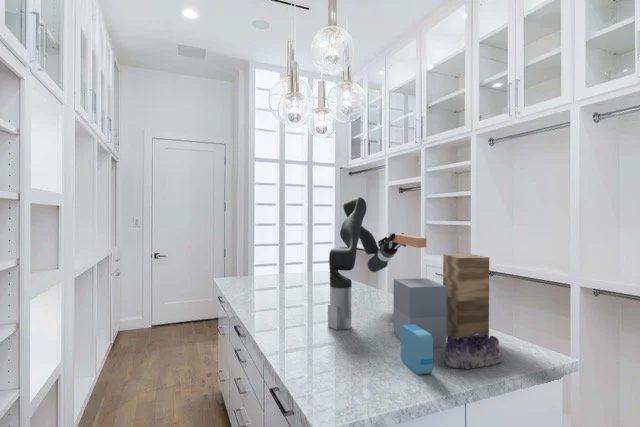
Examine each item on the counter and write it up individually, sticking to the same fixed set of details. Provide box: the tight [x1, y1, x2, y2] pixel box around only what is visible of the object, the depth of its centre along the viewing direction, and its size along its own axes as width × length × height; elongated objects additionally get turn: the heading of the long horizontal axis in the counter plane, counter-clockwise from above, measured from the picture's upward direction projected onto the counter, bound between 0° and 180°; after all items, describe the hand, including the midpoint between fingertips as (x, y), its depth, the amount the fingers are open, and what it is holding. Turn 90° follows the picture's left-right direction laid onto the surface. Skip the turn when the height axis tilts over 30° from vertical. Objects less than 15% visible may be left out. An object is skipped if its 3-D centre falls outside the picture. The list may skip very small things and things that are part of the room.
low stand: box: [392, 277, 447, 349], centre depth 134 cm, size 16×14×22 cm
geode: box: [443, 334, 503, 371], centre depth 114 cm, size 20×12×10 cm, turn 114°
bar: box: [388, 232, 427, 249], centre depth 146 cm, size 30×4×4 cm, turn 9°
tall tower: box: [442, 253, 490, 339], centre depth 137 cm, size 12×12×32 cm
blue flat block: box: [400, 324, 434, 376], centre depth 110 cm, size 12×4×12 cm, turn 14°
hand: (398, 235), depth 154 cm, fingers closed on bar, 3 cm apart
